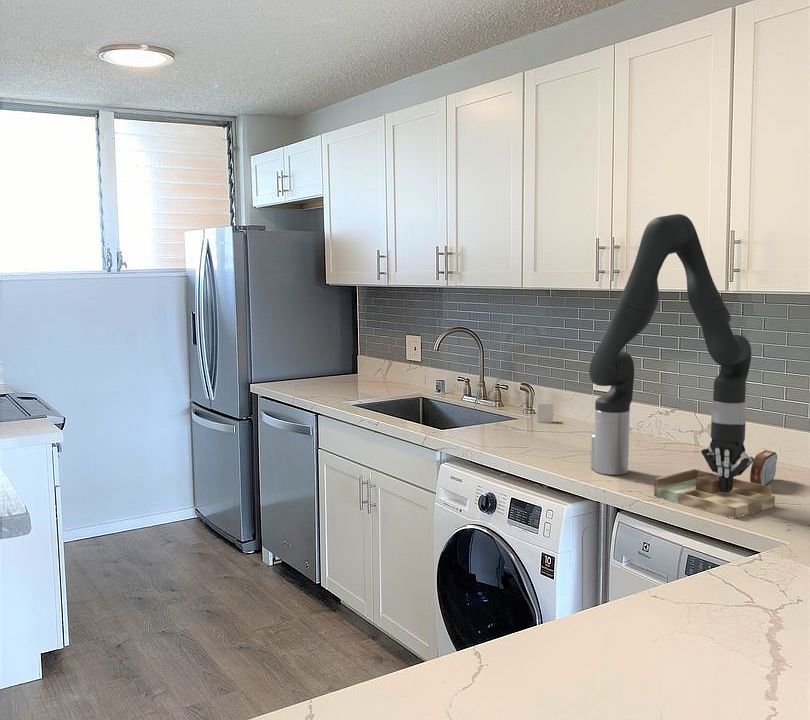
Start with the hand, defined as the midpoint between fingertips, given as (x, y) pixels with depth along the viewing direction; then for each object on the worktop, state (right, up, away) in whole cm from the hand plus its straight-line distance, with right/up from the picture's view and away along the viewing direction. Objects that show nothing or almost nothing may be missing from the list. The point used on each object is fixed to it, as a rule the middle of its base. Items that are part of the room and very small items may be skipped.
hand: (725, 491), depth 194 cm
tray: (-2, -3, +3) cm, 5 cm away
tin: (+17, -1, +18) cm, 25 cm away
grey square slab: (-25, +8, +104) cm, 107 cm away
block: (-3, 0, +3) cm, 4 cm away
